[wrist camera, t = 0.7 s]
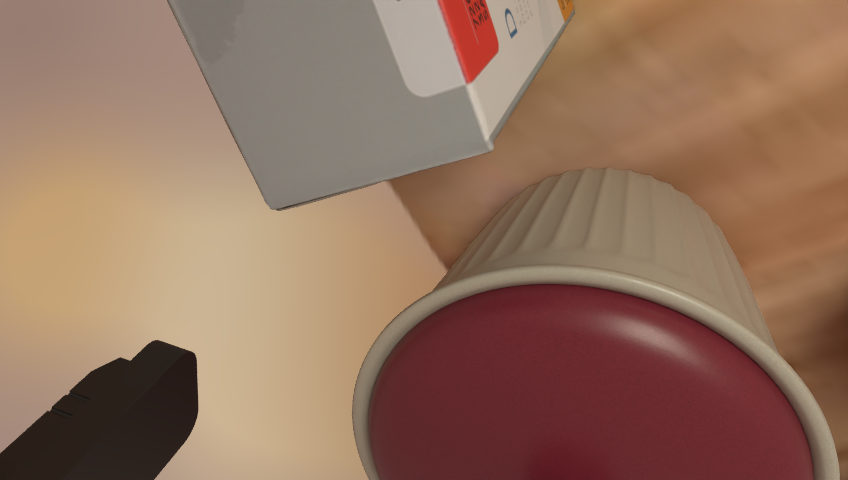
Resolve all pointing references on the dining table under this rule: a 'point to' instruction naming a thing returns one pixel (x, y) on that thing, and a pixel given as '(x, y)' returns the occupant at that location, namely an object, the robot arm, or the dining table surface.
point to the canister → (589, 353)
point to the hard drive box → (364, 83)
